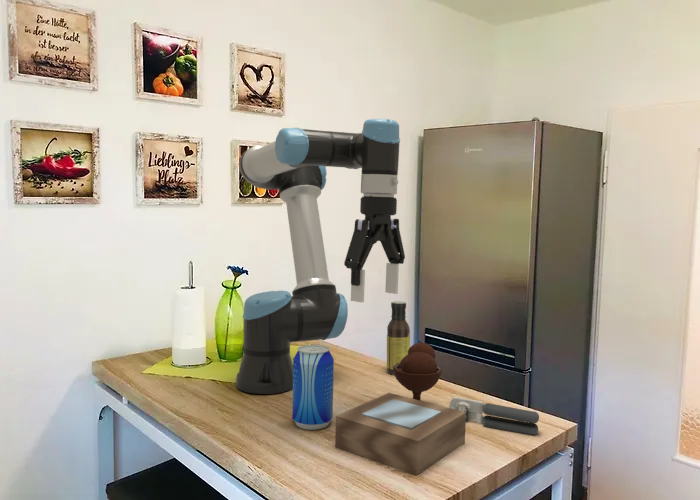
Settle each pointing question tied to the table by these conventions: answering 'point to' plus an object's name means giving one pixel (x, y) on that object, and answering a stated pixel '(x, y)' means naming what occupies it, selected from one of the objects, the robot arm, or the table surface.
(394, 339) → the sauce bottle
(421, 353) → the ice cream bowl
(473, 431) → the table surface
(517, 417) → the can opener
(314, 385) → the beer can
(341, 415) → the walnut plinth
